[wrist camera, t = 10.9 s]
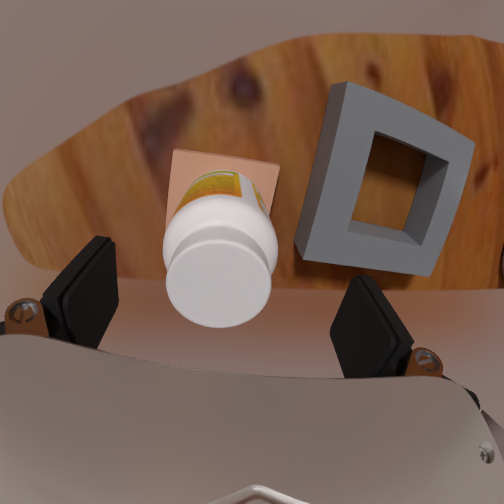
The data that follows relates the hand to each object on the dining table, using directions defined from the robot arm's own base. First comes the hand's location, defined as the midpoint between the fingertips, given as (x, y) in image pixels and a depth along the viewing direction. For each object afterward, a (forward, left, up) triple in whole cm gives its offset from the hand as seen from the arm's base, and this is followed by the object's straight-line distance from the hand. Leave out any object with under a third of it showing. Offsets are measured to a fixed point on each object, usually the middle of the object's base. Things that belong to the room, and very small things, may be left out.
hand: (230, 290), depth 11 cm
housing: (-11, -4, -11) cm, 16 cm away
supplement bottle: (0, 0, -10) cm, 10 cm away
